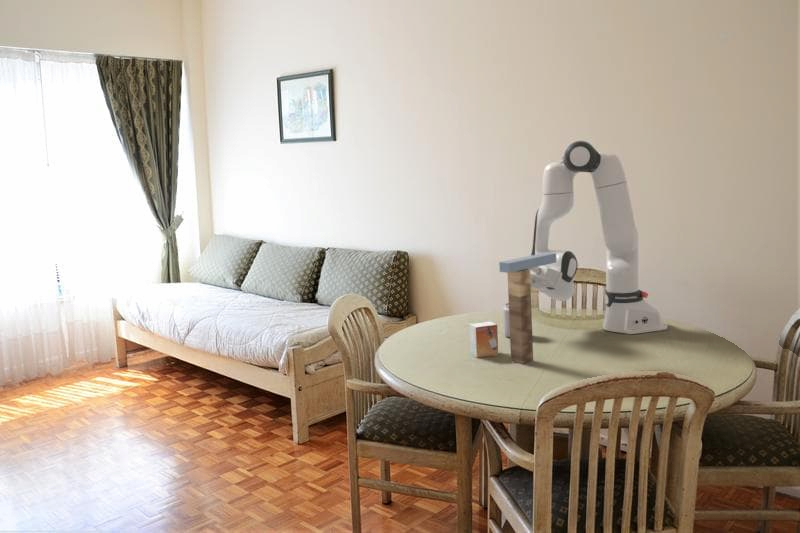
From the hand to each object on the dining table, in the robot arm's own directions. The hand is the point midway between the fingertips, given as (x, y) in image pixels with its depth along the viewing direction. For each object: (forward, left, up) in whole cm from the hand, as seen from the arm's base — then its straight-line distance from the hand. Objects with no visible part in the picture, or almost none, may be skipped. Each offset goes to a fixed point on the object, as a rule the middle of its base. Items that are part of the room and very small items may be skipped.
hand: (517, 264), depth 252 cm
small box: (+15, +12, -28) cm, 34 cm away
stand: (+4, +22, -28) cm, 36 cm away
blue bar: (0, +19, +2) cm, 20 cm away
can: (+1, -8, -28) cm, 29 cm away
